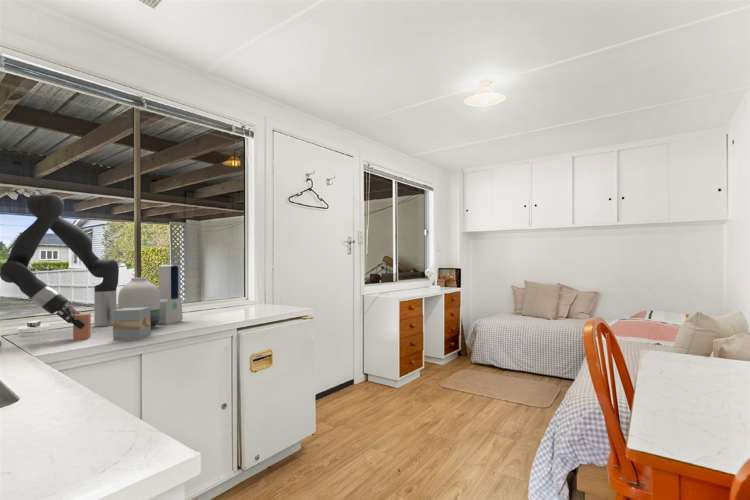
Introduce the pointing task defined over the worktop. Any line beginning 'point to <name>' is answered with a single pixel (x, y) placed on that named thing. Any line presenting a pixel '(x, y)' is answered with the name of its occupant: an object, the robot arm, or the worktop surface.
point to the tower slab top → (131, 313)
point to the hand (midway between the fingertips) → (85, 325)
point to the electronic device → (169, 294)
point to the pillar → (86, 330)
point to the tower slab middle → (131, 324)
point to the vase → (141, 297)
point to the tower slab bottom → (131, 333)
